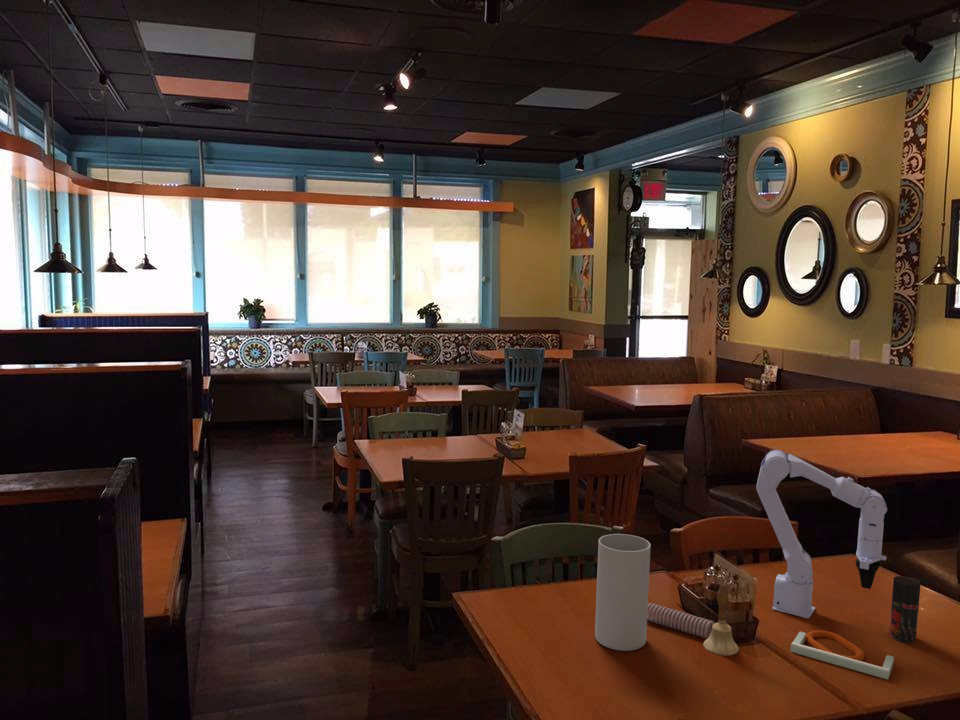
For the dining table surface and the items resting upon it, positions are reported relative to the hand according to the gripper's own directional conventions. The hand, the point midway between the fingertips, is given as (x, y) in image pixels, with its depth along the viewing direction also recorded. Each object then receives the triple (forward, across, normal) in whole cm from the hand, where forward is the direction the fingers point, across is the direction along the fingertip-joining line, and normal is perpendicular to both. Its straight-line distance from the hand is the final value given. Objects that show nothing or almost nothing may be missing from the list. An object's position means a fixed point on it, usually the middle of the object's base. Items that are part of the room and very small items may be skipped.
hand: (866, 587), depth 199 cm
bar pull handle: (+9, -25, +1) cm, 27 cm away
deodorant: (+10, -4, -10) cm, 14 cm away
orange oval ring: (+10, -21, +3) cm, 24 cm away
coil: (+10, -35, +38) cm, 52 cm away
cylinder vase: (+10, -50, +47) cm, 69 cm away
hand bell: (+10, -38, +26) cm, 47 cm away
